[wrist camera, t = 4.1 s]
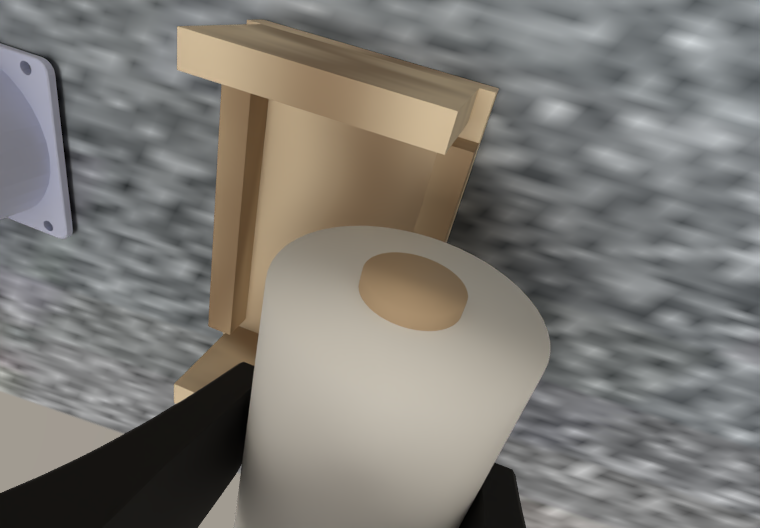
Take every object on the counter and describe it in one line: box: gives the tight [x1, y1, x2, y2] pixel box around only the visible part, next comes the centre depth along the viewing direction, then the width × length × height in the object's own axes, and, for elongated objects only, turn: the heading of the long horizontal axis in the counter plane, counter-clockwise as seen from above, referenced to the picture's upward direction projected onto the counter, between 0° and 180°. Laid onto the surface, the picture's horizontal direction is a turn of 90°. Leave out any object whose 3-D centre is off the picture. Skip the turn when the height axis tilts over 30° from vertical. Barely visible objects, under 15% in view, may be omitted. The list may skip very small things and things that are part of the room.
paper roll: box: [234, 226, 550, 528], centre depth 10 cm, size 9×5×5 cm, turn 166°
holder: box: [174, 20, 499, 404], centre depth 16 cm, size 8×13×5 cm, turn 167°
